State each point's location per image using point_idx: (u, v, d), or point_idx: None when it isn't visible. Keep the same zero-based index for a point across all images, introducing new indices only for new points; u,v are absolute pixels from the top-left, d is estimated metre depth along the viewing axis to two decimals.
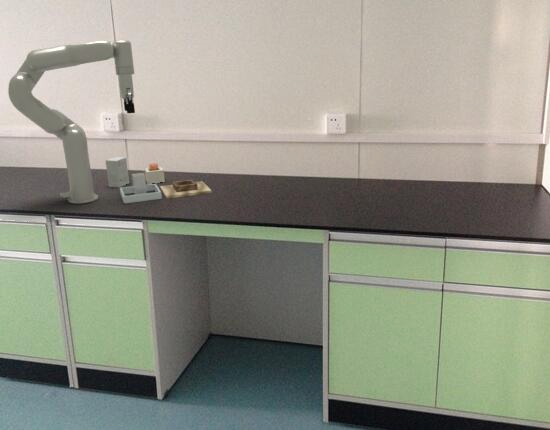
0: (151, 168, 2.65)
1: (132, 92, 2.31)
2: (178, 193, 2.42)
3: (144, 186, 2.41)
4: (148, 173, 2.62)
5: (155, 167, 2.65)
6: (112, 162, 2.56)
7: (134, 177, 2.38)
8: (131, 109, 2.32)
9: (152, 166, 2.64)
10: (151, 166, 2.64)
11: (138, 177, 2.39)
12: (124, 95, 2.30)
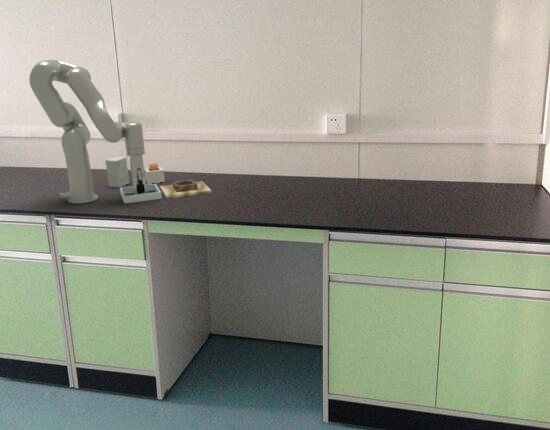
0: (151, 168, 2.65)
1: (143, 172, 2.36)
2: (178, 193, 2.42)
3: (144, 186, 2.41)
4: (148, 173, 2.62)
5: (155, 167, 2.65)
6: (112, 162, 2.56)
7: None
8: (141, 190, 2.39)
9: (152, 166, 2.64)
10: (151, 166, 2.64)
11: None
12: (135, 175, 2.35)
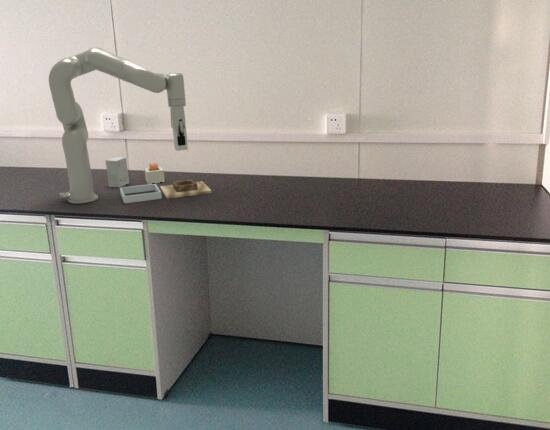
0: (151, 168, 2.65)
1: (184, 123, 2.36)
2: (178, 193, 2.42)
3: (185, 138, 2.41)
4: (148, 173, 2.62)
5: (155, 167, 2.65)
6: (112, 162, 2.56)
7: None
8: (182, 142, 2.39)
9: (152, 166, 2.64)
10: (151, 166, 2.64)
11: None
12: (176, 126, 2.36)
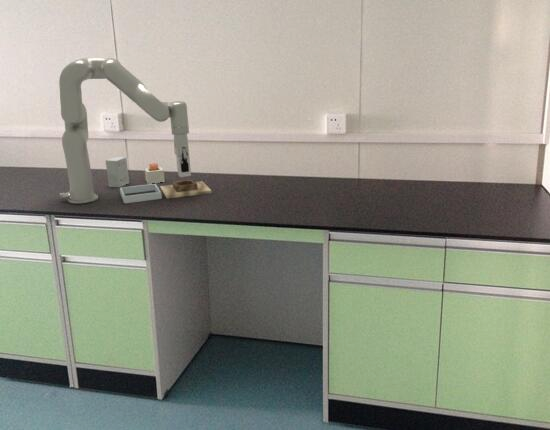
0: (151, 168, 2.65)
1: (187, 151, 2.40)
2: (178, 193, 2.42)
3: (188, 165, 2.45)
4: (148, 173, 2.62)
5: (155, 167, 2.65)
6: (112, 162, 2.56)
7: None
8: (186, 168, 2.43)
9: (152, 166, 2.64)
10: (151, 166, 2.64)
11: None
12: (180, 154, 2.39)
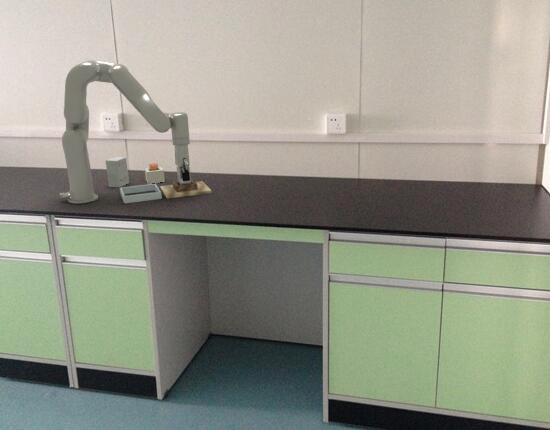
0: (151, 168, 2.65)
1: (188, 161, 2.42)
2: (178, 193, 2.42)
3: None
4: (148, 173, 2.62)
5: (155, 167, 2.65)
6: (112, 162, 2.56)
7: (179, 169, 2.44)
8: (187, 177, 2.43)
9: (152, 166, 2.64)
10: (151, 166, 2.64)
11: None
12: (181, 164, 2.41)
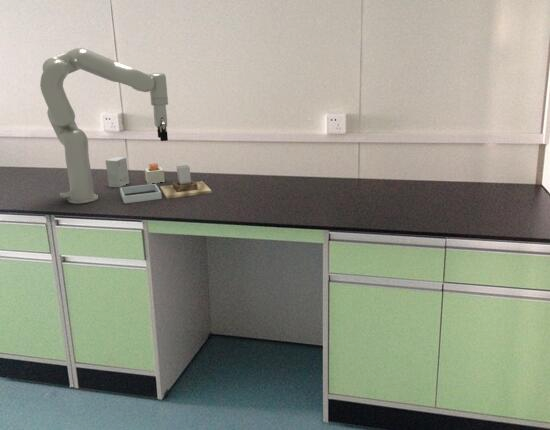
0: (151, 168, 2.65)
1: (166, 121, 2.47)
2: (178, 193, 2.42)
3: (189, 178, 2.47)
4: (148, 173, 2.62)
5: (155, 167, 2.65)
6: (112, 162, 2.56)
7: (179, 169, 2.44)
8: (164, 137, 2.48)
9: (152, 166, 2.64)
10: (151, 166, 2.64)
11: (183, 169, 2.45)
12: (158, 124, 2.46)
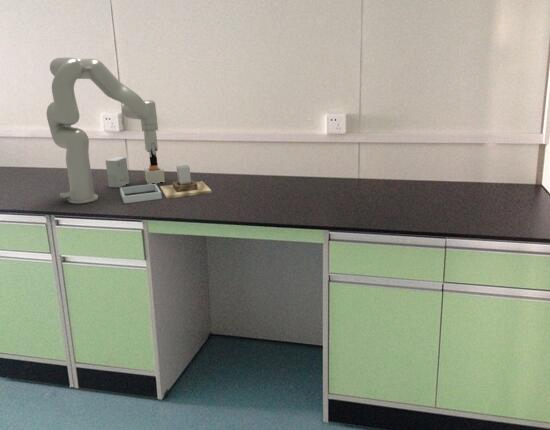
0: (151, 169, 2.65)
1: (156, 146, 2.59)
2: (178, 193, 2.42)
3: (189, 178, 2.47)
4: (148, 173, 2.62)
5: (155, 168, 2.65)
6: (112, 162, 2.56)
7: (179, 169, 2.44)
8: (154, 162, 2.64)
9: (152, 167, 2.64)
10: (151, 167, 2.64)
11: (183, 169, 2.45)
12: (149, 149, 2.58)
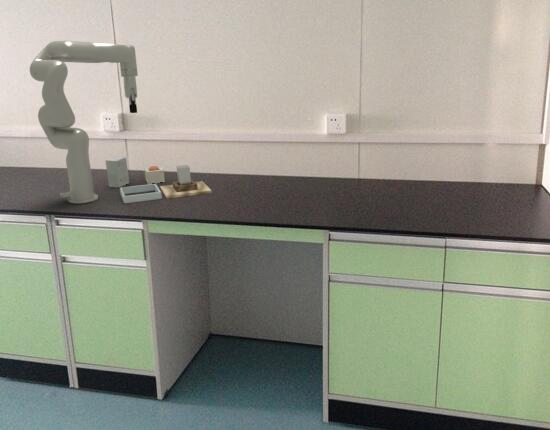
0: None
1: (135, 92, 2.55)
2: (178, 193, 2.42)
3: (189, 178, 2.47)
4: (148, 173, 2.62)
5: None
6: (112, 162, 2.56)
7: (179, 169, 2.44)
8: (134, 109, 2.60)
9: (152, 169, 2.64)
10: (151, 169, 2.65)
11: (183, 169, 2.45)
12: (128, 95, 2.54)
